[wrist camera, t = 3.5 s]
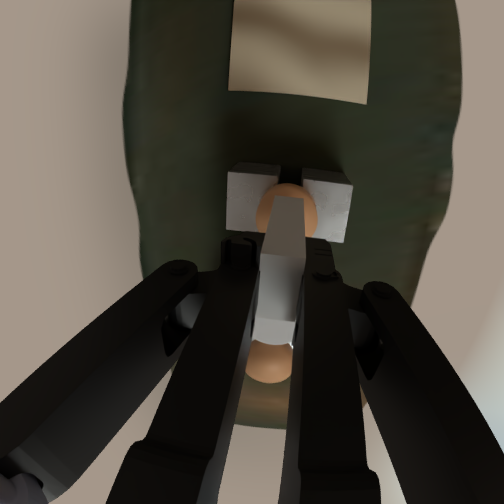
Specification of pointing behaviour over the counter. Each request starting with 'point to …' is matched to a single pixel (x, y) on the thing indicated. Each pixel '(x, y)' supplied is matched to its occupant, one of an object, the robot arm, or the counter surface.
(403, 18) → the counter surface
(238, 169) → the set of grey blocks
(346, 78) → the coaster
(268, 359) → the plunger
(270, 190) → the plunger
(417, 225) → the counter surface
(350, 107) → the counter surface
